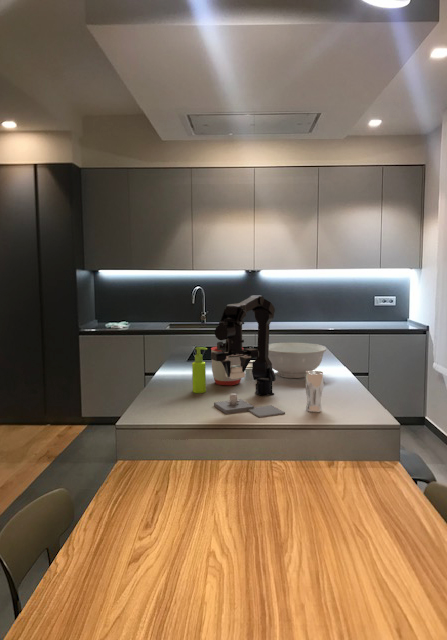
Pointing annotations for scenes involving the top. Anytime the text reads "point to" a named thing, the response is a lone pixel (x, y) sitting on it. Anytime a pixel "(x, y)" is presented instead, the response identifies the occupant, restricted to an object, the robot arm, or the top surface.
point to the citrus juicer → (220, 371)
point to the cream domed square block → (236, 372)
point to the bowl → (295, 358)
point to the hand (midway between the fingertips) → (235, 376)
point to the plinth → (233, 405)
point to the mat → (266, 411)
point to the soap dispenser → (199, 372)
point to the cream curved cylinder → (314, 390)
